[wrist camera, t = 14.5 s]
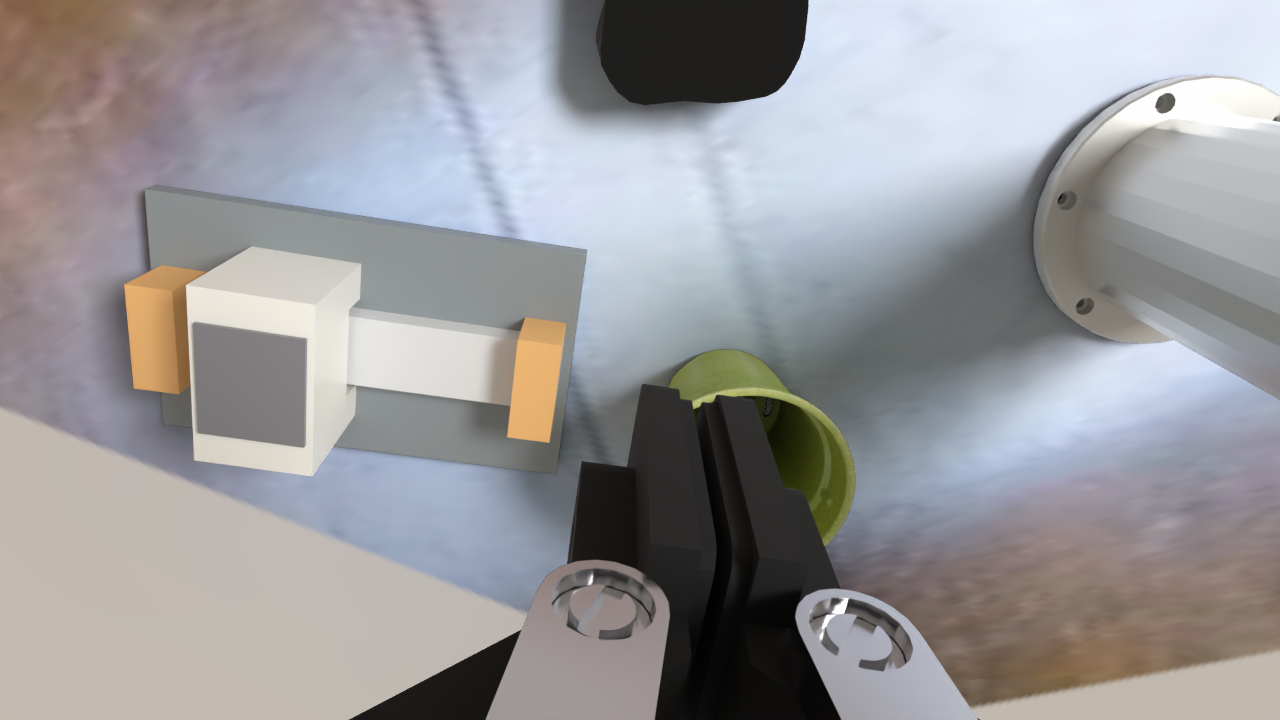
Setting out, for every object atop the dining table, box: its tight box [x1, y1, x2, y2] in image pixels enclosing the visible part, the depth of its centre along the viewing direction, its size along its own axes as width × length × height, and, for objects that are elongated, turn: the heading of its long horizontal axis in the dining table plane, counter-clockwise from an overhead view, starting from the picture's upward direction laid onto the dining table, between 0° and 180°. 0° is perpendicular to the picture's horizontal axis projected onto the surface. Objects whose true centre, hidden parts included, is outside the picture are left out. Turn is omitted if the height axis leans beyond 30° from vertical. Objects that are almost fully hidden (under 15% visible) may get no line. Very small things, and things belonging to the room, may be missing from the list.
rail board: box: [124, 185, 587, 474], centre depth 38 cm, size 20×12×4 cm, turn 81°
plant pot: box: [668, 350, 855, 546], centre depth 37 cm, size 9×9×9 cm
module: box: [186, 246, 361, 476], centre depth 36 cm, size 5×8×6 cm, turn 170°
